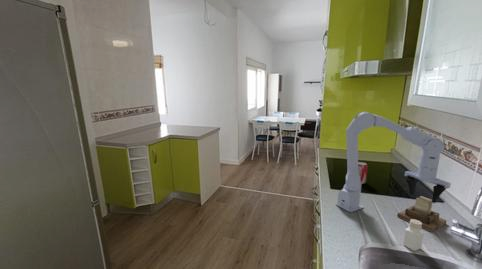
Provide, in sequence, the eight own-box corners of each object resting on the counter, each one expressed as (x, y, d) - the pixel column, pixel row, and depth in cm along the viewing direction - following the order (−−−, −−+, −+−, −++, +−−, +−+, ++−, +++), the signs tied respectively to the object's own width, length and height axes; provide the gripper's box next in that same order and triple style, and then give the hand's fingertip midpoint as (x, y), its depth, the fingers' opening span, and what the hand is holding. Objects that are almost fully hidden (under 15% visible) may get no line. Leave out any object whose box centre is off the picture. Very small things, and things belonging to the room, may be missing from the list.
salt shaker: (414, 252, 72) (419, 226, 70) (401, 244, 76) (405, 219, 74) (421, 249, 74) (426, 223, 72) (409, 241, 77) (413, 217, 75)
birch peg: (424, 220, 88) (427, 202, 86) (413, 215, 91) (416, 198, 90) (429, 218, 89) (432, 200, 88) (418, 213, 93) (421, 196, 91)
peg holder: (431, 232, 83) (433, 222, 82) (397, 216, 93) (398, 208, 92) (445, 223, 88) (447, 214, 87) (412, 210, 99) (413, 201, 98)
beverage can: (367, 185, 126) (369, 165, 123) (355, 184, 127) (357, 164, 125) (363, 181, 132) (365, 162, 129) (352, 180, 133) (354, 161, 131)
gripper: (456, 170, 82) (450, 203, 84) (412, 160, 95) (408, 189, 97) (448, 173, 79) (441, 207, 81) (403, 162, 92) (399, 192, 94)
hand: (422, 198), depth 89 cm, fingers open, 7 cm apart
